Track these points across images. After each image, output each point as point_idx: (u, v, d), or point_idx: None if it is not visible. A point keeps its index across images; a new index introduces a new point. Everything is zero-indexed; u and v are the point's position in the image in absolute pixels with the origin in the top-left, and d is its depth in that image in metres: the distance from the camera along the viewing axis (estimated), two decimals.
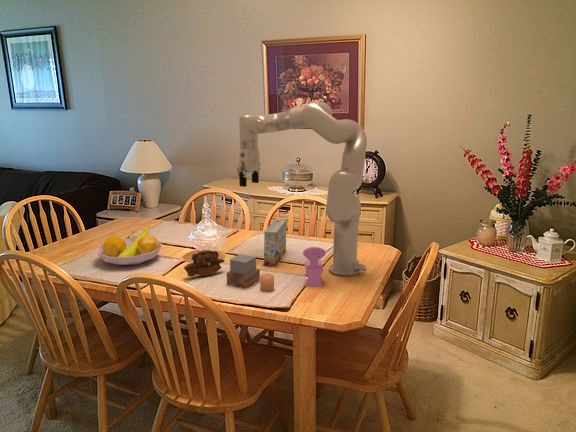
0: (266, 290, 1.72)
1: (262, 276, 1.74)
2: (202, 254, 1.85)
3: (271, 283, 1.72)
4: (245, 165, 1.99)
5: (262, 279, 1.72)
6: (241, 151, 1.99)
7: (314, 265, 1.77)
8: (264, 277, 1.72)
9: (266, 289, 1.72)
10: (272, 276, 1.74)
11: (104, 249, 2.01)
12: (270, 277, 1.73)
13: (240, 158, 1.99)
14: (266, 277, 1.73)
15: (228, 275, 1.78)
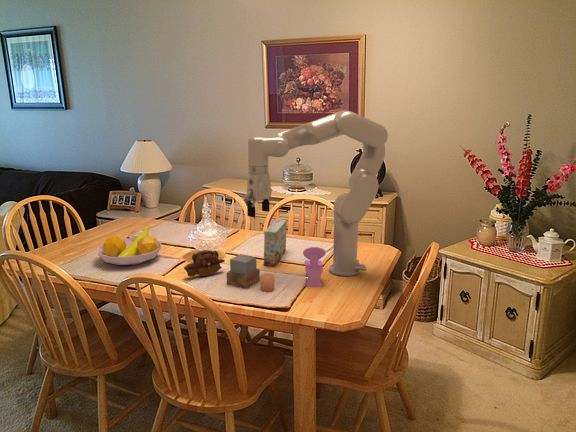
0: (266, 290, 1.72)
1: (262, 276, 1.74)
2: (202, 254, 1.85)
3: (271, 283, 1.72)
4: (254, 193, 1.77)
5: (262, 279, 1.72)
6: (249, 177, 1.77)
7: (314, 265, 1.77)
8: (264, 277, 1.72)
9: (266, 289, 1.72)
10: (272, 276, 1.74)
11: (104, 249, 2.01)
12: (270, 277, 1.73)
13: (248, 185, 1.78)
14: (266, 277, 1.73)
15: (228, 275, 1.78)
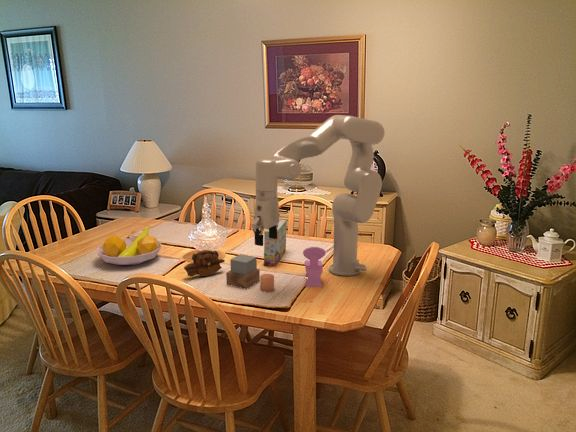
0: (266, 290, 1.72)
1: (262, 276, 1.74)
2: (202, 254, 1.85)
3: (271, 283, 1.72)
4: (262, 220, 1.63)
5: (262, 279, 1.72)
6: (257, 203, 1.63)
7: (314, 265, 1.77)
8: (264, 277, 1.72)
9: (266, 289, 1.72)
10: (272, 276, 1.74)
11: (104, 249, 2.01)
12: (270, 277, 1.73)
13: (256, 212, 1.64)
14: (266, 277, 1.73)
15: (228, 275, 1.78)
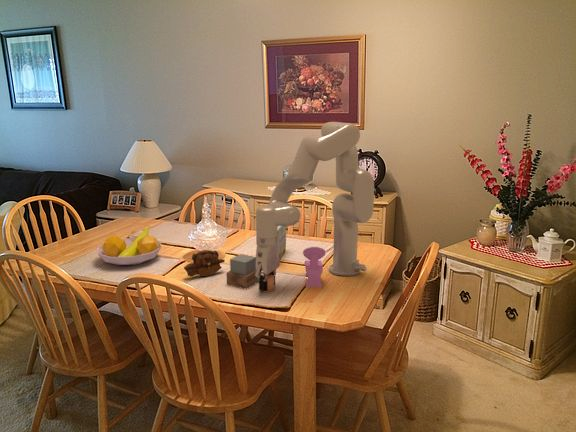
0: None
1: None
2: (202, 254, 1.85)
3: (271, 283, 1.72)
4: (263, 266, 1.67)
5: None
6: (258, 250, 1.67)
7: (314, 265, 1.77)
8: None
9: None
10: (272, 276, 1.74)
11: (104, 249, 2.01)
12: (270, 277, 1.73)
13: (257, 258, 1.68)
14: None
15: (228, 275, 1.78)
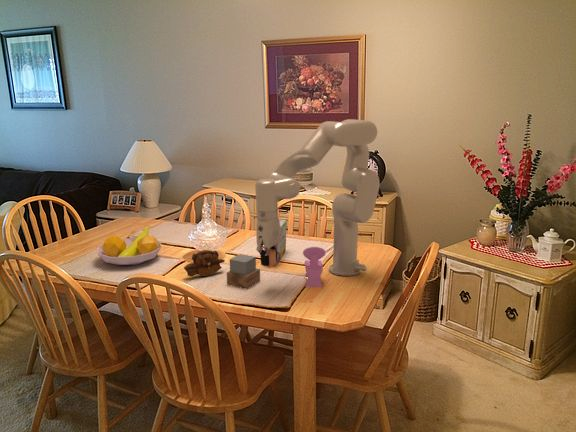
0: None
1: None
2: (202, 254, 1.85)
3: (273, 258, 1.70)
4: (264, 240, 1.65)
5: None
6: (259, 224, 1.65)
7: (314, 265, 1.77)
8: None
9: None
10: (274, 251, 1.72)
11: (104, 249, 2.01)
12: (272, 252, 1.71)
13: (258, 232, 1.66)
14: (268, 252, 1.71)
15: (228, 275, 1.78)
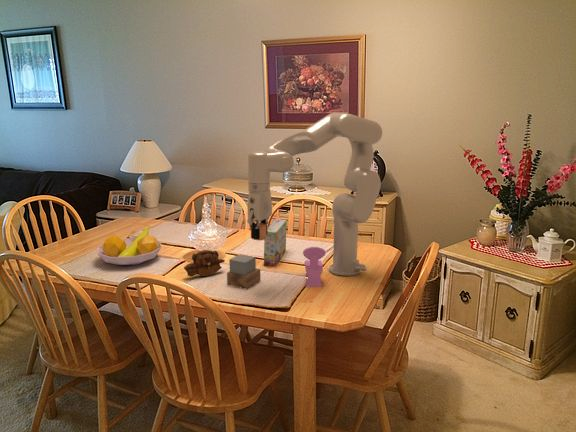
0: None
1: None
2: (202, 254, 1.85)
3: (263, 231, 1.69)
4: (255, 213, 1.64)
5: None
6: (250, 196, 1.64)
7: (314, 265, 1.77)
8: None
9: None
10: (264, 224, 1.71)
11: (104, 249, 2.01)
12: (262, 225, 1.70)
13: (249, 204, 1.65)
14: None
15: (228, 275, 1.78)
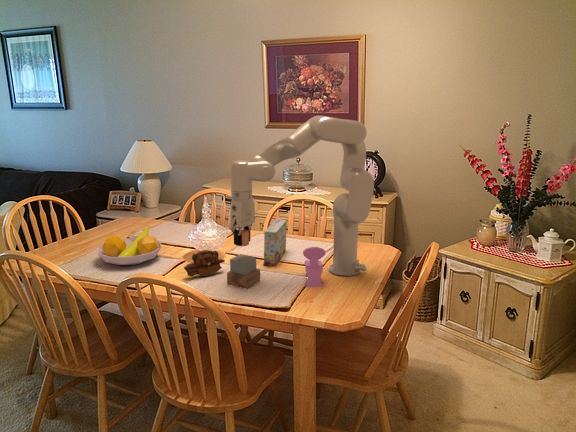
0: None
1: None
2: (202, 254, 1.85)
3: (246, 237, 1.74)
4: (237, 220, 1.69)
5: None
6: (233, 203, 1.69)
7: (314, 265, 1.77)
8: None
9: None
10: (247, 231, 1.76)
11: (104, 249, 2.01)
12: (245, 232, 1.75)
13: (231, 211, 1.70)
14: (241, 232, 1.75)
15: (228, 275, 1.78)
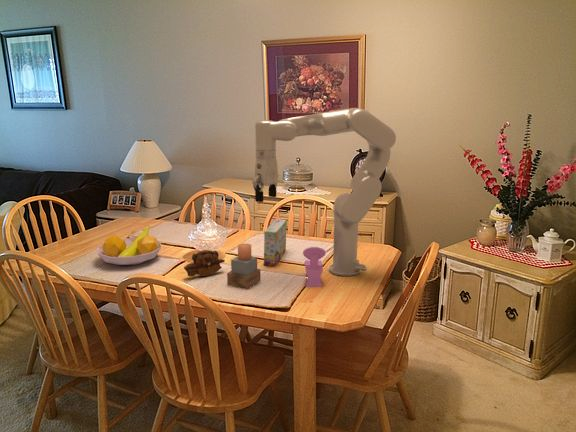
0: (244, 259, 1.76)
1: (239, 245, 1.77)
2: (202, 254, 1.85)
3: (248, 252, 1.76)
4: (262, 178, 1.75)
5: (239, 248, 1.75)
6: (257, 162, 1.75)
7: (314, 265, 1.77)
8: (242, 246, 1.76)
9: (244, 258, 1.76)
10: (249, 245, 1.77)
11: (104, 249, 2.01)
12: (247, 246, 1.76)
13: (256, 170, 1.75)
14: (243, 246, 1.76)
15: (229, 275, 1.77)
